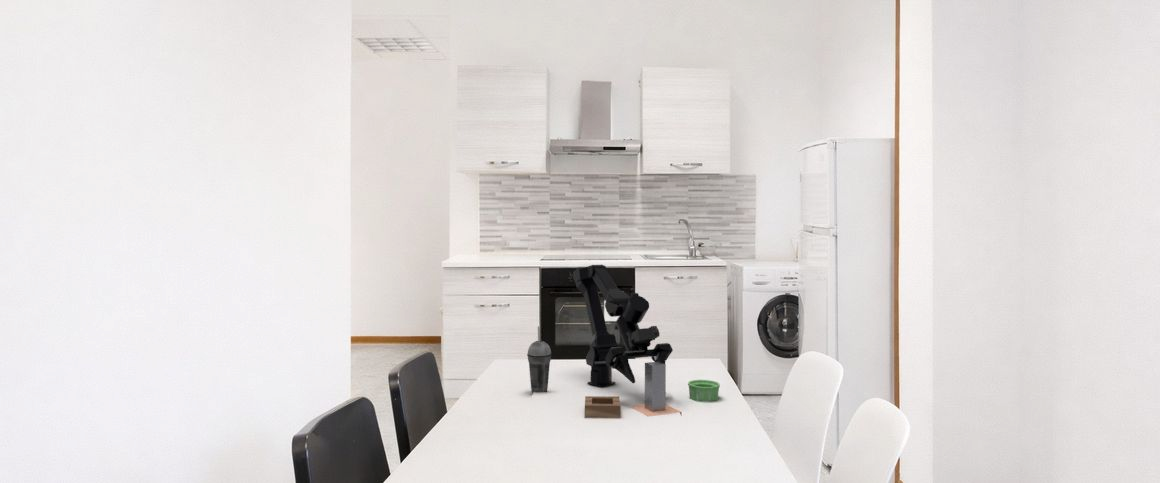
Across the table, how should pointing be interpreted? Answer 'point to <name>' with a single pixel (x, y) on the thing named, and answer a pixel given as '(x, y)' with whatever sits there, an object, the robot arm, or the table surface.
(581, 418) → the table surface
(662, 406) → the peg
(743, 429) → the table surface
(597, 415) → the socket block
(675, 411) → the mat
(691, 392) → the ramekin
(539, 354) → the beverage cup
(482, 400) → the table surface
